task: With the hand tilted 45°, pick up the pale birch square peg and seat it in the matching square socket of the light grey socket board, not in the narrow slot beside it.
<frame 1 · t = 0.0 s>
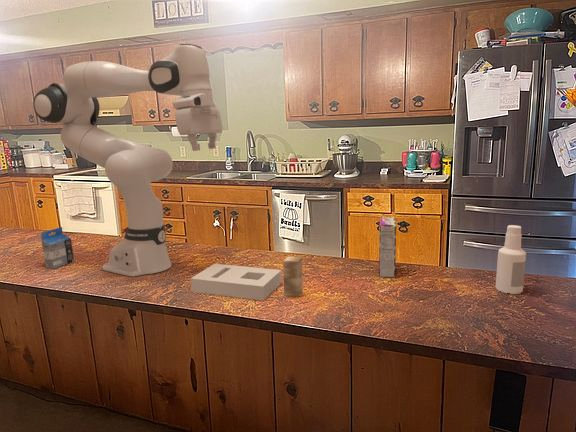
hand: (204, 149, 134), 39 cm above the worktop, tool pointing down, fingers open, 8 cm apart
candy bar box: (386, 272, 141), on the worktop
socket board: (237, 287, 130), on the worktop
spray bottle: (508, 290, 124), on the worktop
label tape box: (60, 265, 154), on the worktop
square peg: (293, 293, 124), on the worktop
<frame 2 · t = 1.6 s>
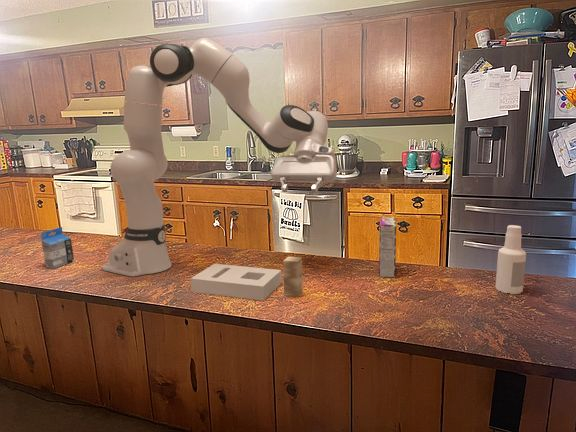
hand: (298, 191, 134), 26 cm above the worktop, tool tilted 45°, fingers open, 8 cm apart
nothing on the worktop moved.
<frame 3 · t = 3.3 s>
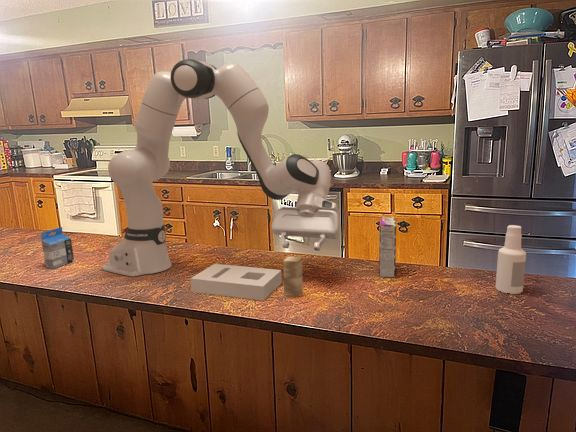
hand: (300, 248, 128), 11 cm above the worktop, tool tilted 45°, fingers open, 8 cm apart
nothing on the worktop moved.
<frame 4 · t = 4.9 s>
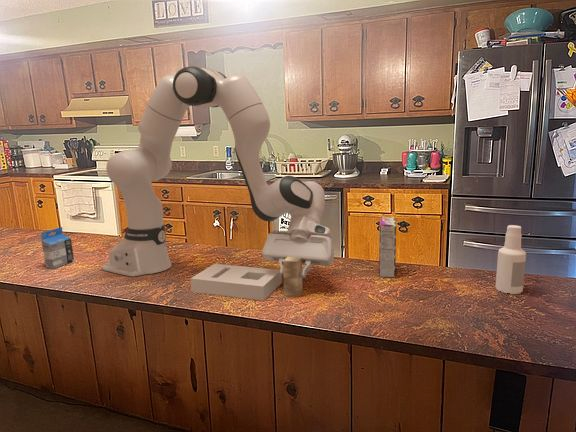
hand: (292, 275, 123), 5 cm above the worktop, tool tilted 45°, fingers closed on square peg, 4 cm apart
square peg: (293, 293, 124), on the worktop, touching gripper
everything else where it was.
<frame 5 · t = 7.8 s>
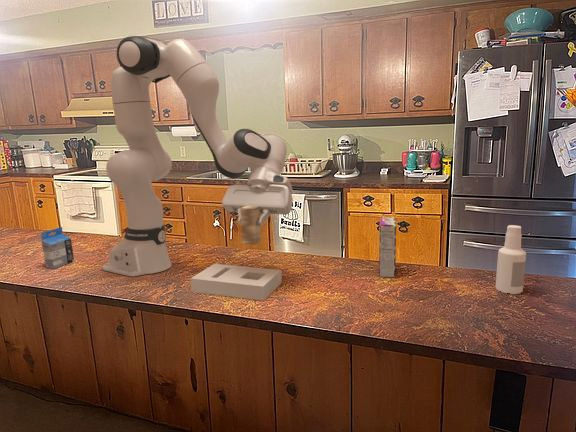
hand: (250, 224, 124), 19 cm above the worktop, tool tilted 45°, fingers closed on square peg, 4 cm apart
square peg: (251, 242, 125), point 14 cm above the worktop, touching gripper
everything else where it was.
when the fingers open (7 cm above the worktop, at t = 11.0 s): square peg drops 1 cm, resting in socket board.
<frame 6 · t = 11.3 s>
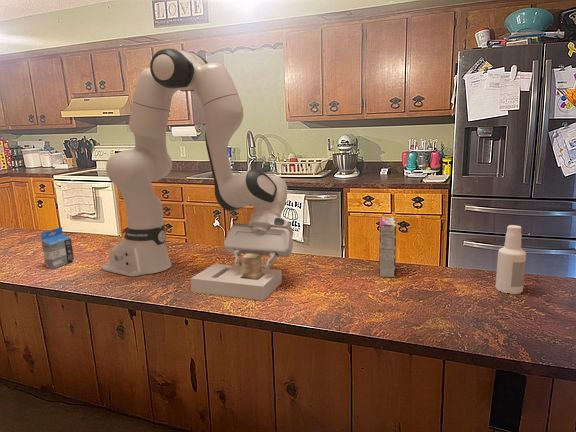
hand: (251, 266, 126), 7 cm above the worktop, tool tilted 45°, fingers open, 7 cm apart
square peg: (252, 289, 128), resting in socket board
everything else where it was.
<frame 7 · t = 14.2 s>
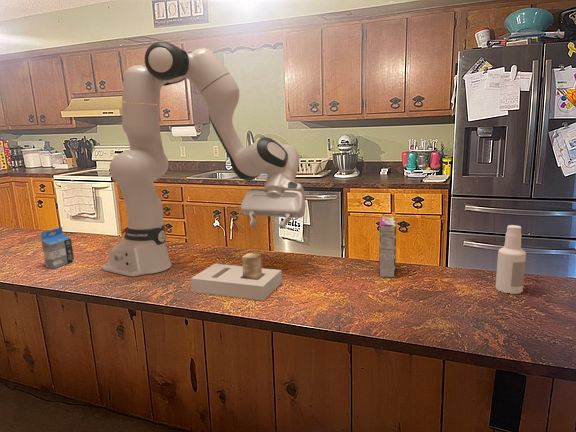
hand: (267, 226, 136), 16 cm above the worktop, tool tilted 45°, fingers open, 8 cm apart
nothing on the worktop moved.
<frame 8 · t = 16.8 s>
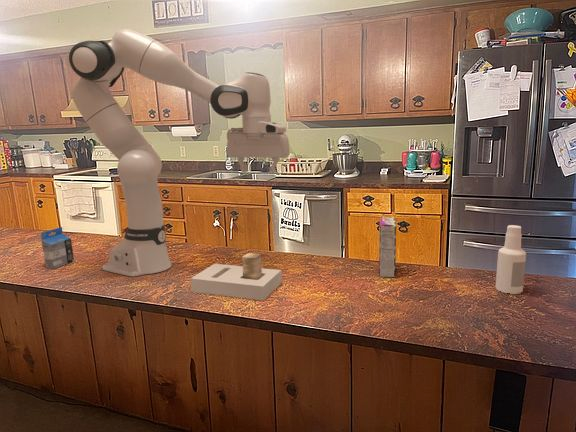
hand: (258, 172, 142), 31 cm above the worktop, tool pointing down, fingers open, 8 cm apart
nothing on the worktop moved.
at the end: square peg 0.2 cm from the target spot on the socket board, point 0.0 cm above the socket board's base; square peg tilted 0°; the gripper is holding nothing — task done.
